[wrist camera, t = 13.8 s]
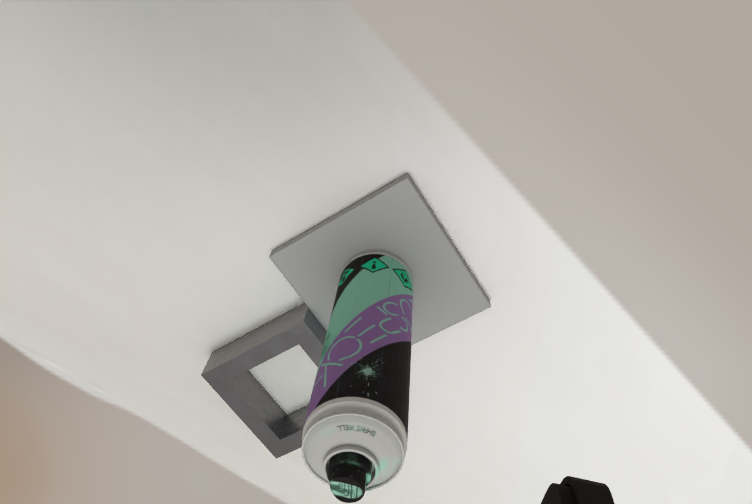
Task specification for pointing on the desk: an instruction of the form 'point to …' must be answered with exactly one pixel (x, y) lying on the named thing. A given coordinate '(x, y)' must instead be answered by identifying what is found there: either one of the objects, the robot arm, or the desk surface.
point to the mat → (392, 234)
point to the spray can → (363, 379)
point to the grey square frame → (245, 391)
